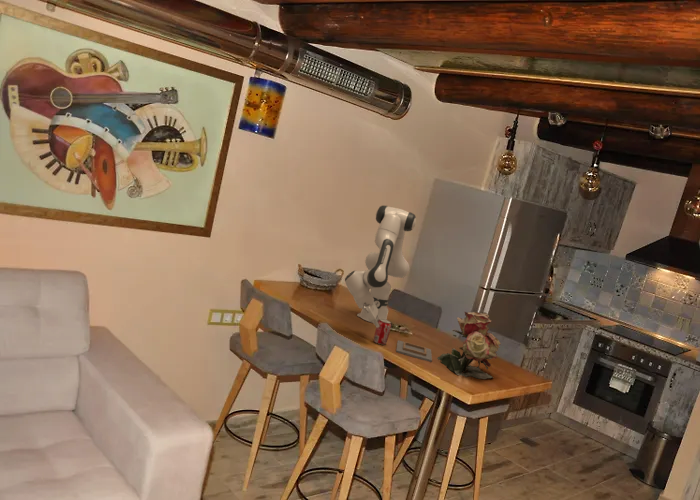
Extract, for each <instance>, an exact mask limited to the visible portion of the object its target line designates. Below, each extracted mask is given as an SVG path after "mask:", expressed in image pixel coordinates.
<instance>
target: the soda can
mask: <svg viewBox="0 0 700 500" xmlns="http://www.w3.org/2000/svg"><path fill="white" fill-rule="evenodd" d="M378 323H379V325H380V326H379V327H378V328H375V331H374V336H373V342H374V343H375V344H377V343H378V344H377V345H380V344H382V345H381V346H384V345H386V344H387V343H388V339H389V336H390V333H391V330H392V329H391V328H392V324H391V323H392V322H391V321H390V320H389V319H387V320H385V319H380V321H379V322H378Z"/></svg>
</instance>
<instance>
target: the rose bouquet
mask: <svg viewBox="0 0 700 500" xmlns="http://www.w3.org/2000/svg"><path fill="white" fill-rule="evenodd" d="M463 312H464V316H465V317H463V318H461V317H458V316H457V318H456V319H457V322H458V325H459V327H460V328H459V329H460V330H458V329H457V330H456V329H452V332H455V333H457V334H459V335H460V336H461V335H462V336H461V337H462V338H466V339H465V341H463V344H462V346H460V347H459V350H461V351H462V353H461V351H459V350H457V349H456V348H451V353H450V352H447V353H441V354H440V355H439V356H437V358H436V359H437V360H438V361H439V362H440V363H441V364H442V365H444V366H445V367H447V369H449V370H450V371H451V372H453V373H455V374H456V375H457V376H462V377H465V378H467V377H473V378H476V379H480V380H486V379H494V376H492V375H490V374H488V373H487V372H485V371H483V370H481V369H480V364H483V365H484V366H485V369H486V370H489V367H491V363H490V361H489V360H492V359H493V358H495V359H497V352H499V349H500V348H501V347H500V345H501V342H500V340H499V339H498V338H497V337H495V336H494V334H493V333H490V332H489V330H490V327H489V326H488V325H489V324H490V323H492V320H491V319H490V315H489V313H487V312H478V311H472V312H467V311H463ZM452 336H453V337H456V338H457V335H456V334H452ZM473 361H476V362H477V364H478V366H474V365H470V364H472V362H473Z"/></svg>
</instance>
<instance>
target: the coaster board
mask: <svg viewBox="0 0 700 500" xmlns="http://www.w3.org/2000/svg"><path fill="white" fill-rule="evenodd" d="M395 350H396V351H395V352H396V353H397V352H398V354H400V355H404V356H407V357H412V358H415V359H419V360H422V361H426V362H430V363H432V362H433V357H432V349H431V348H427V347H426V346H421V345H418V344H414V343H412V342H408V341H403V340H397V343H396V349H395Z"/></svg>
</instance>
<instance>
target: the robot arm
mask: <svg viewBox="0 0 700 500" xmlns="http://www.w3.org/2000/svg"><path fill="white" fill-rule="evenodd" d="M375 220H376V222H377V223H378V224H379V226H378V228H377V230H376V234H375V236H374V237H375V238H374V243H375V245H376V247H377V248H378V249H379V252H376V251H374V252H373V251H371V252H370V253H368V254H367V256H366V258H365V260H364V262H365V266H366V268H367V270H353V271H351V272H349V273H348V275H346V276H345V278H344V282H345V283H344V284H345V286H346V288H347V290H348V291H349V293H350V294H351V296H352V297H353V300H354V302H355V304H356V305H357V307H358V309H361V312H358V313H357V317H358V318H361V319H363V321H366V322H369V323H372V324H373V325H374V326H375V327H376V328H378V327H379V326H380V325H379V323H378V322H379V321H380V319H385V320H388V313H389V309H388V307H387V306H388V304H389V298H390V293H391V289H392V286H391V284H390V282H389V281H388V279H389V278H388V277H389V276H391V277H393V278H400V279H402V278H403V279H404V278H405V277H407V276H408V274H409V273H410V270H411V269H410V263H409V261H407V260H406V257H404V254H403V253H404V252H403V244H404V240H405V234H406V232H411V231H413V229H414V228H415V227H416V224H417V217H416V214H414V213H413V212H411V211H410V212H409V211H407V210H405V209H402V208H397V207H393V206H388V205H380V206H379V208H378V209H377V210H376V213H375ZM376 328H375V329H376Z"/></svg>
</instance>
